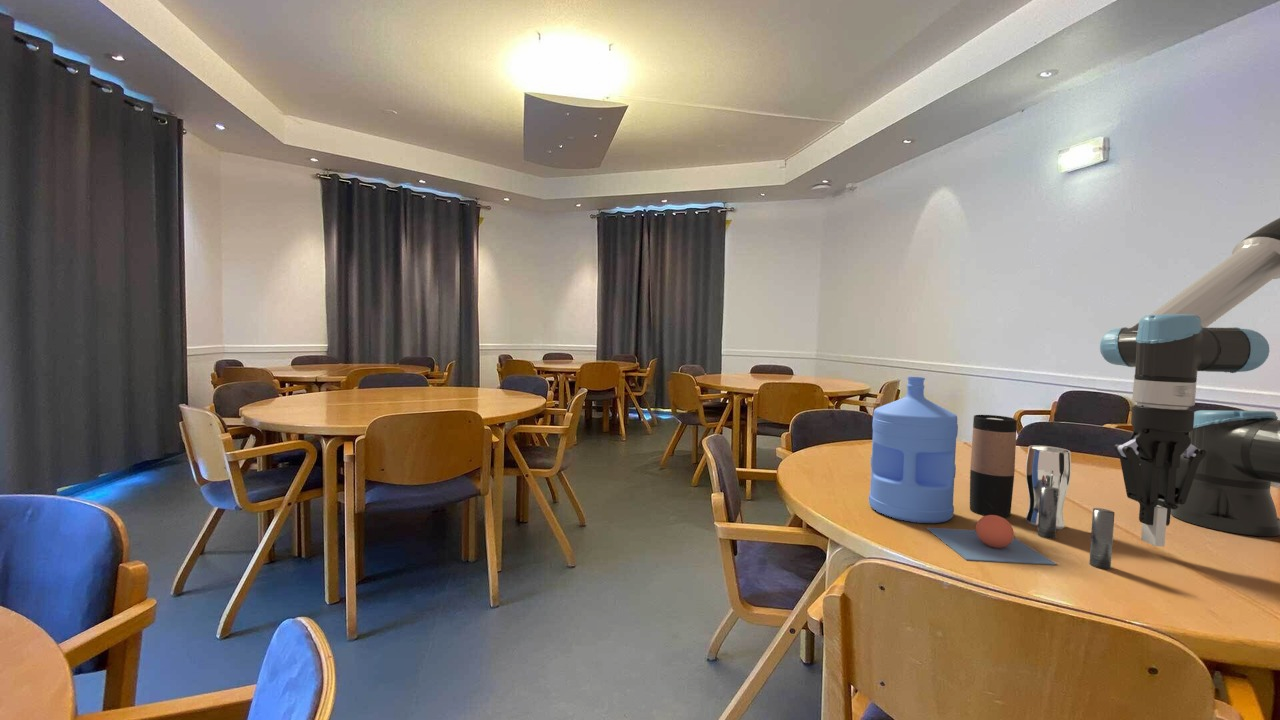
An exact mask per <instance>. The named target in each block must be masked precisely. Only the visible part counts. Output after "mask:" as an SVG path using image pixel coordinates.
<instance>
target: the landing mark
mask: <svg viewBox="0 0 1280 720" xmlns="http://www.w3.org/2000/svg"><path fill="white" fill-rule="evenodd" d="M926 530H928V531H929V530H930V531H931V532H932V533H931V532H930V531H929V532H930V533H931V534H932V535H934V536H935V535H936V536H937V539H939V540H940V539H941V540H942V541H941V542H943V543H944V544H945V545H946V544H947V545H946V546H947V547H949V548H950V549H951V548H952V549H951V550H953V551H954V552H955V553H957V554H958V555H959V556H960V557H962V558H963V560H965V561H972V562H973V561H974V562H975V561H976V562H992V563H995V562H996V563H1009V564H1014V563H1015V564H1032V565H1045V566H1046V565H1049V566H1050V565H1052V566H1058V563H1057V562H1055V561H1053V560H1052V559H1050V558H1049V557H1046V556H1045V555H1043V554H1042V553H1040V552H1039V551H1037V550H1035V549H1034V548H1032V547H1030V546H1028V545H1027V544H1025V542H1022V541H1020V540H1018V538H1016V537H1014V538H1013V540H1012V542H1011V543H1010V544H1009V545H1008V546H1006V547H1003V548H993V547H990V546H988V545H986V544H984V543H983V542H982V541H981V540H980V539H979V537H978V535H977V533H976V529H964V528H963V529H962V528H961V529H959V528H958V529H956V528H939V527H926ZM936 536H935V537H936Z"/></svg>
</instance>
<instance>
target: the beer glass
mask: <svg viewBox="0 0 1280 720" xmlns="http://www.w3.org/2000/svg"><path fill="white" fill-rule="evenodd" d="M1027 448H1028V449H1027V456H1026V462H1025V480H1026V485H1027V487H1026V488H1027V493H1028V508H1027V512H1026V514H1025V515H1026V516H1025V522H1026V523H1027V524H1029V525H1031V526H1034V527H1037V528H1038V519H1039V503H1040V487H1041V486H1049V487H1054V488H1057V489H1058V502H1057V518H1056V531H1057V530H1063V529H1064V528H1065V521H1064V513H1063V509H1064V503H1065V500H1066V497H1067V493H1068V490H1069V486H1070V481H1071V474H1072V473H1071V472H1072V469H1071V468H1072V461H1071V460H1072V459H1071V451H1070V450H1068V449H1066V448H1061V447H1056V446H1048V445H1035V444H1034V445H1029V446H1028V447H1027Z"/></svg>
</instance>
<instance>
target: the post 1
mask: <svg viewBox="0 0 1280 720" xmlns="http://www.w3.org/2000/svg"><path fill="white" fill-rule="evenodd" d="M1057 502H1058V489H1057V488H1054V487H1049V486H1041V487H1040V503H1039V519H1038V527H1037V536H1039V537H1041V538H1043V539H1044V538H1045V539H1051V540H1054V539H1056V533H1057V530H1056V518H1057Z"/></svg>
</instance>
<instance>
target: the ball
mask: <svg viewBox="0 0 1280 720" xmlns="http://www.w3.org/2000/svg"><path fill="white" fill-rule="evenodd" d="M975 530H976V533H977V535H978V537H979V539H980V540H981V541H982V542H983V543H984V544H986V545H988V546H990V547H993V548H1003V547H1006V546H1008V545H1009V544H1010V543H1011V542H1012V540H1013V538H1015V537H1014V535H1015V531H1014V528H1013V525H1011V523H1010V522H1009V521H1008V520H1007V519H1006V518H1002V517H1000V516H997V515H987V516H984V515H983V516H982V517H981V518H979V519H978V521H977V522H976V524H975Z"/></svg>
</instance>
